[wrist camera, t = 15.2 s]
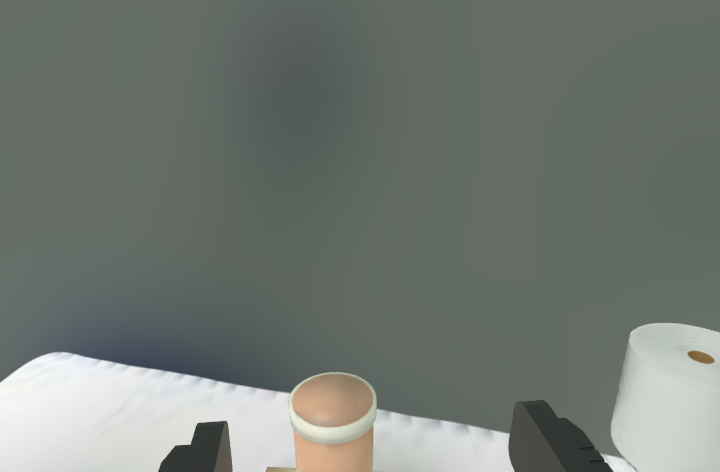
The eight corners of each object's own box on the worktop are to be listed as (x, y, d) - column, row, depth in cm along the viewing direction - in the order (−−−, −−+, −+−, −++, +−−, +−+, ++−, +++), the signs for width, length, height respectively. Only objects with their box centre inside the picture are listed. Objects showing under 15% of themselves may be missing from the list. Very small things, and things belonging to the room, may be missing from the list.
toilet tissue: (592, 407, 48) (608, 319, 44) (718, 414, 47) (744, 325, 43) (641, 496, 38) (667, 392, 34) (803, 508, 37) (846, 401, 33)
